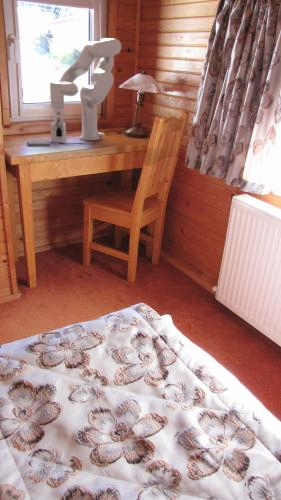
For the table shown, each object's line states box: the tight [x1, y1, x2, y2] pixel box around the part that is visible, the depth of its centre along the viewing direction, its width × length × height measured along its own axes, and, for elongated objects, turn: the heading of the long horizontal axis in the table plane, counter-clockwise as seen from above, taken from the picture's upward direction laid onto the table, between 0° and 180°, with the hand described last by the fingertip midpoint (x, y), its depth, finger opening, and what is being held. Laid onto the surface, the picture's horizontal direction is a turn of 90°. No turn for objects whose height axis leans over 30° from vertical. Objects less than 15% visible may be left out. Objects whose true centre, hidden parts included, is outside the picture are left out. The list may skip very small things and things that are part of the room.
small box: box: [49, 122, 67, 143], centre depth 238 cm, size 8×6×10 cm
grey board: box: [27, 138, 51, 147], centre depth 231 cm, size 12×12×2 cm
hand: (58, 134), depth 239 cm, fingers open, 9 cm apart
